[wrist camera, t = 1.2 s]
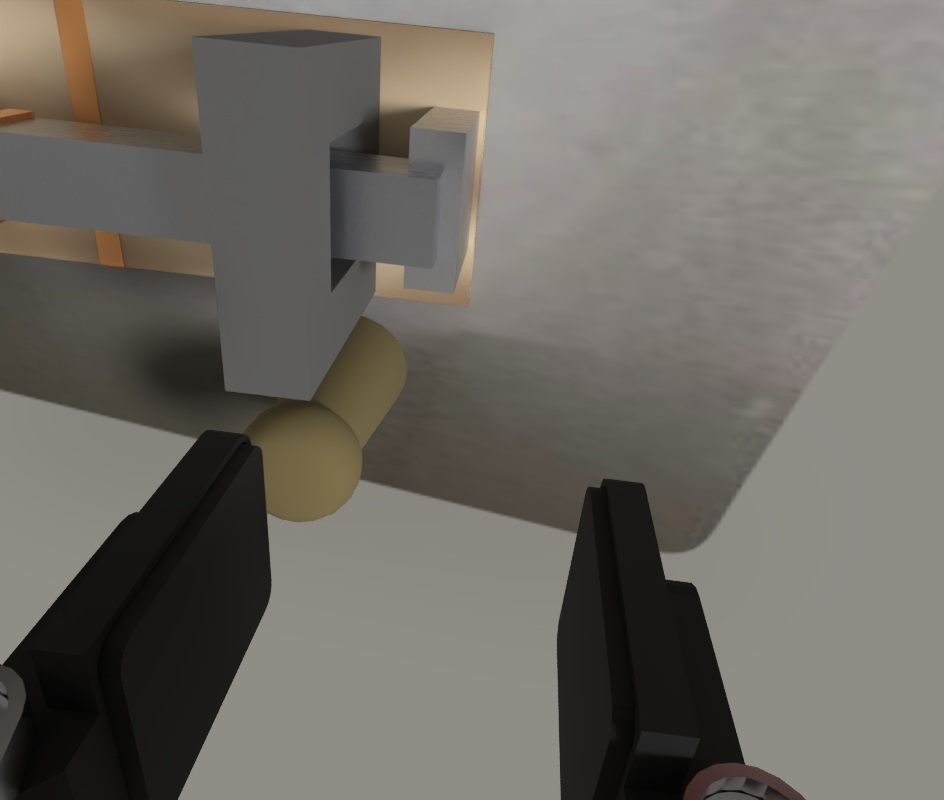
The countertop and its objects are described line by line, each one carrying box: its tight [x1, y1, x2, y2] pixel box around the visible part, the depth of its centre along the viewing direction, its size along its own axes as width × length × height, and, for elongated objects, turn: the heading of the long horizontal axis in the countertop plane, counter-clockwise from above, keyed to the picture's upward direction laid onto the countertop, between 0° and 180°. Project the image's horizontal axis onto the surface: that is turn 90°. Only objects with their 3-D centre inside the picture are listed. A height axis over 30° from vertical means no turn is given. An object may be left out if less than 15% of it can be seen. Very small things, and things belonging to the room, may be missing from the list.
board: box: [0, 0, 494, 307], centre depth 32 cm, size 12×26×1 cm, turn 85°
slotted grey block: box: [191, 29, 381, 401], centre depth 26 cm, size 11×3×11 cm, turn 175°
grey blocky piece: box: [0, 107, 480, 294], centre depth 29 cm, size 6×26×8 cm, turn 85°
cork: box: [243, 316, 407, 522], centre depth 33 cm, size 6×6×11 cm
